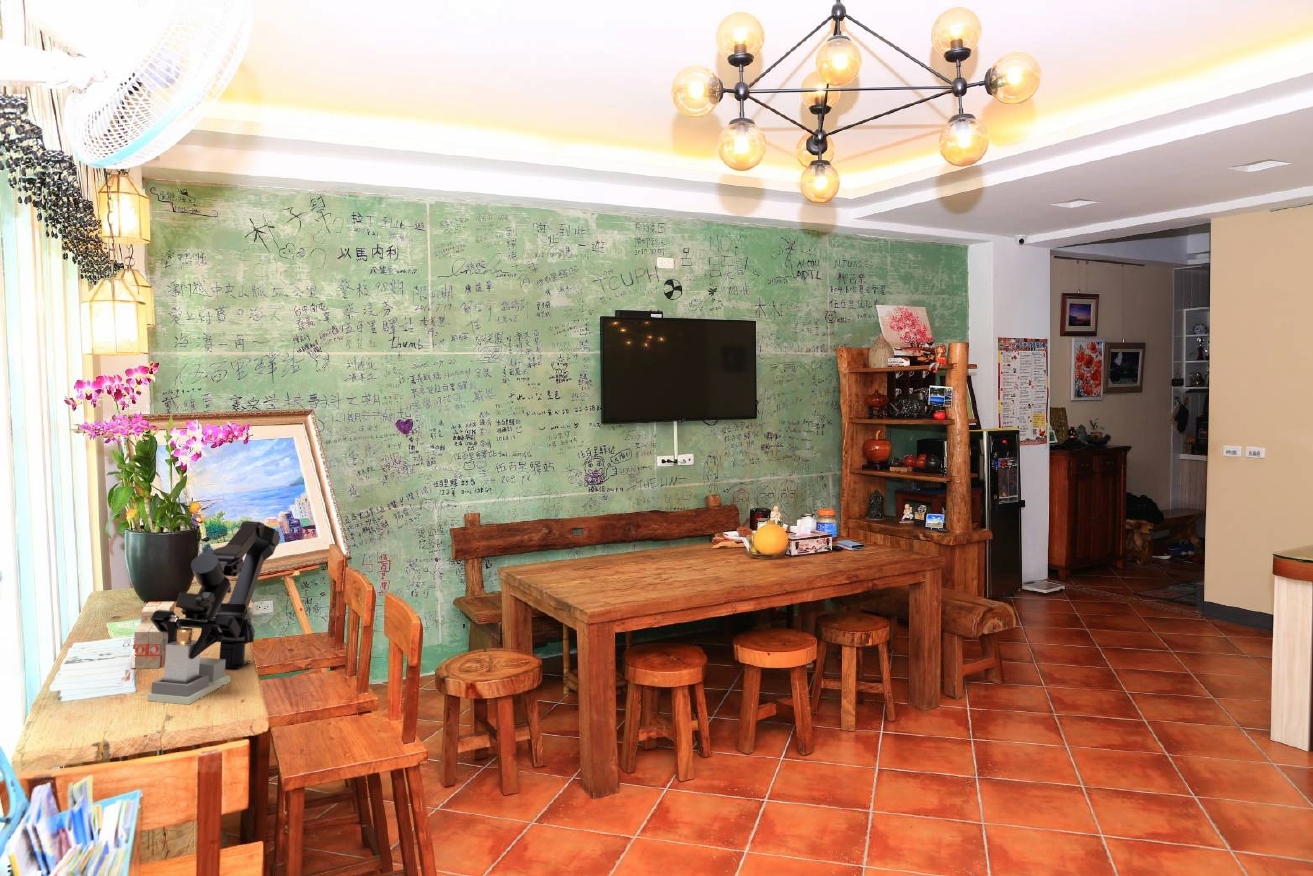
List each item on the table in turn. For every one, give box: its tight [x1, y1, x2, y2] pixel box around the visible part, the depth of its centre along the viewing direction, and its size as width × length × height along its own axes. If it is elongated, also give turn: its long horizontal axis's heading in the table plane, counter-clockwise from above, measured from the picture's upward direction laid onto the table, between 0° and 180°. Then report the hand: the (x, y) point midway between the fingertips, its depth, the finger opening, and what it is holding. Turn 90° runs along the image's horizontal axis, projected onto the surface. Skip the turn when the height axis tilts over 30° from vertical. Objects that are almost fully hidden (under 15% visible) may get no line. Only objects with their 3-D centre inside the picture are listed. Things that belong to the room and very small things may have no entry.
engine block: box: [163, 627, 201, 684], centre depth 199 cm, size 5×5×12 cm
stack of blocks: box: [132, 601, 176, 670], centre depth 226 cm, size 21×6×12 cm, turn 22°
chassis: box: [147, 656, 231, 705], centre depth 203 cm, size 17×9×6 cm, turn 177°
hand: (179, 657), depth 197 cm, fingers closed on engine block, 5 cm apart
